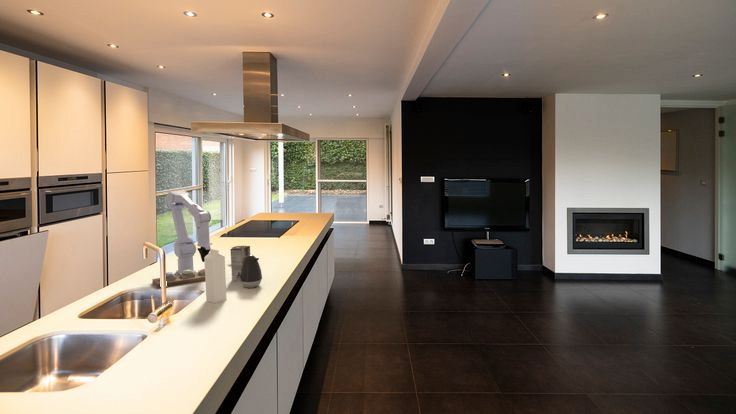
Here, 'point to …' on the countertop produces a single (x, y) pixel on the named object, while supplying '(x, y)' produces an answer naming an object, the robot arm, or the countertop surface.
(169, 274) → the slate blue button
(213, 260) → the milk
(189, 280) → the button panel
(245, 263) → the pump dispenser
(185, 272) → the sage button
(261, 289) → the countertop surface
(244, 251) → the coffee box
